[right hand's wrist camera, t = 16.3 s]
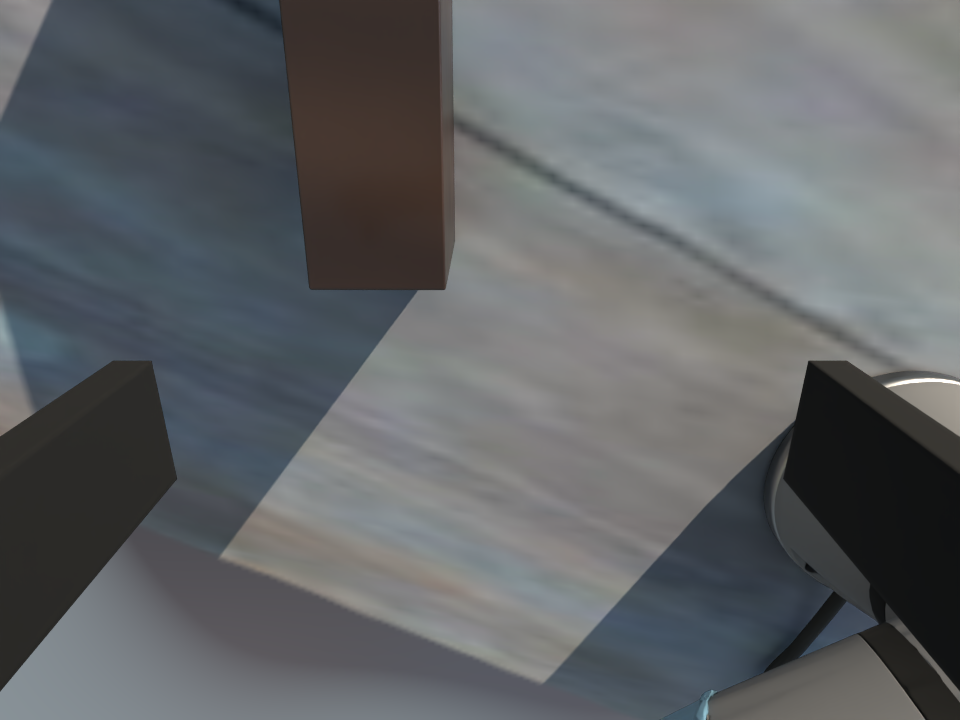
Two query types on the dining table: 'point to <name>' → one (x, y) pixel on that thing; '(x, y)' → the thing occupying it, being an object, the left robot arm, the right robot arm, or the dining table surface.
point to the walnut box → (373, 140)
